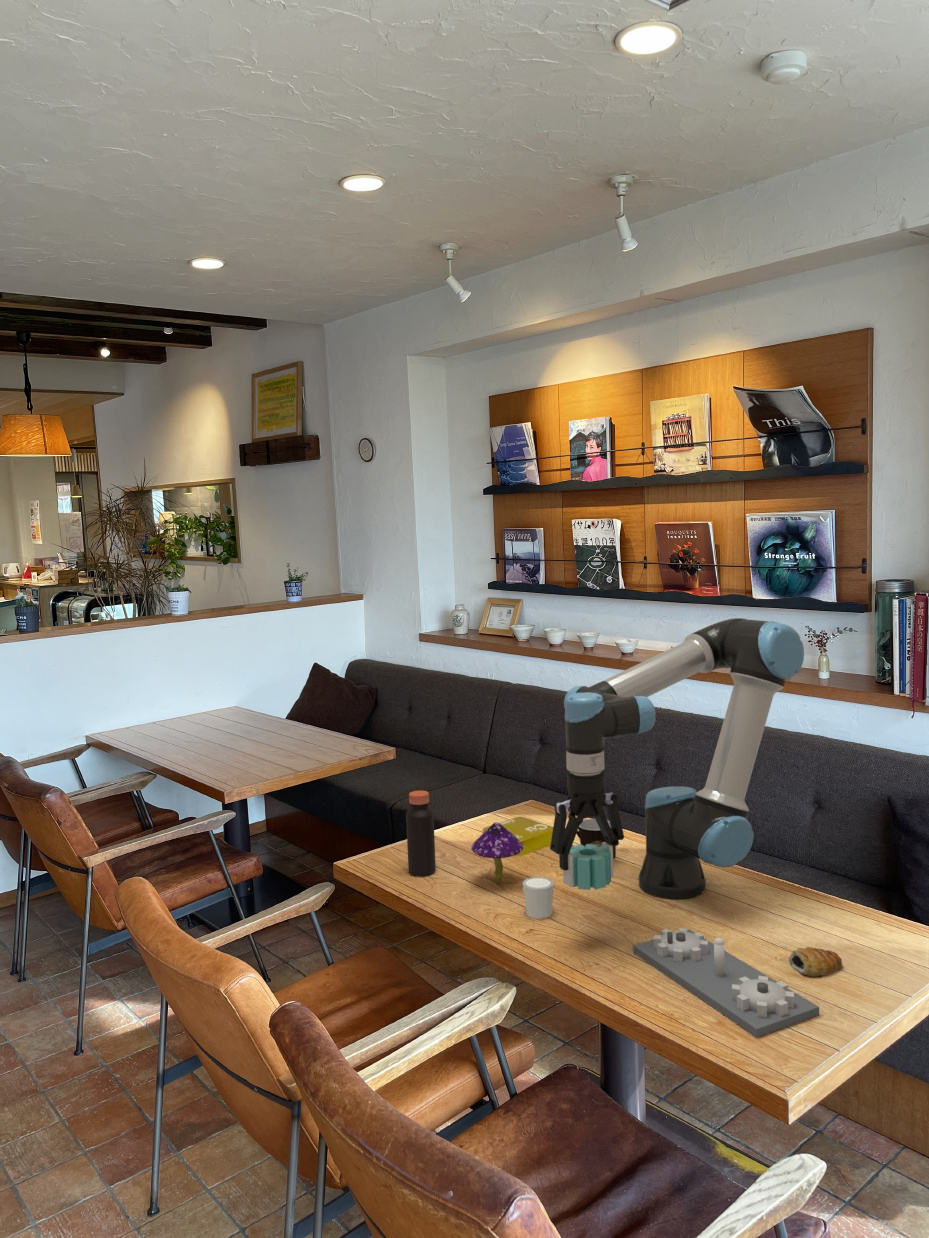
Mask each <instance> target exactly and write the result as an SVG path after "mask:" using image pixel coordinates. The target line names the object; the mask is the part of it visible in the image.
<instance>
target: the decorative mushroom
mask: <svg viewBox="0 0 929 1238" xmlns="http://www.w3.org/2000/svg"><path fill="white" fill-rule="evenodd" d="M489 826H490V827H489V828H488V829H487V830H486V831H485V832H484V833H483V832H482V834H481V835H480V836H479V837H478V838H477V839H476V840H474V842H473V843H472V845H471V848H470V849H471V850H472V852H473V854H475V855H476V856H479V857H482V858H487V859H492V860H493V862H494V867H495V869H494V882H495V884H502V883H503V871H504V866H503V861H502V859H504V858H510V857H514V856H515V855H517V854H519V853H520V852H521V851H522V850H523V848H524V845H523V844H522V843H521V842H520V841H519V840H518V839H517V837H516V836H515V835H513V834H512V833H511V832H510V831H509V830H507V829H506V828H505V827H503V826H502V825H501V824H500V822H497V821H496V822H493V824H490V825H489ZM515 857H516V856H515Z"/></svg>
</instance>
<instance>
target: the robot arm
mask: <svg viewBox="0 0 929 1238" xmlns="http://www.w3.org/2000/svg"><path fill="white" fill-rule="evenodd" d="M683 640H684V641H683V642H682V643H679V644H678V645H676V646H673V647H671V648H669V649H667V650H665V651H662V652H660V653H659V654H657V655H654V656H653V657H650V658H648V659H645V660H644V661H642V662H640V663H639V662H638V664H635V665H634V666H631V667H629V668H627V669H625V670H622V671H621V672H619V673H616V674H615V675H612V676H610V677H608V678H606V679H604V680H602V681H600V682H598V683H595V684H593V685H590V686H585V685H577V686H573V687H572V688H570V689H569V690H568V691H567V693H566V694H565V696H564V700H563V707H564V710H565V711H564V720H565V723H564V724H565V743H566V744H565V746H566V748H565V749H566V754H565V755H566V756H565V757H566V760H565V761H566V770H567V771H568V772H567V773H566V788H567V791H568V795H567V798H566V800H565V801H562V802H558V801H555V803H554V804H553V807H554V814H555V815H554V820H553V821H554V822H553V826H552V827H553V832H552V838H551V845H550V846H549V849H550V851H552V852H553V853H555V854H557V855H559V856H558V857H559V868H560V870H562V877H563V878H562V883H563V884H565V885H566V886H568V887H569V888H575V887H574V878H573V855H572V854H570V850H571V847H572V845H573V844H574V841H575V839H576V836H577V831H579V830H578V828H579V825H580V824H581V823H582V822H583V820H585V819H588V818H592V817H593V819H595V820H596V822H597V824H598V826H599V828H600V830H601V832H602V834H603V836H604V838H605V840H606V841H607V843H606V842H602V846H603V847H605V848H607V849H608V850H609V852H611V878H614V860H616V858H617V857H616V856H617V855H616V854H617V850H616V849H617V848H616V847H617V846H619V844H620V842H619V841H623V840H624V838H625V835H624V830H623V825H622V820H621V816H620V812H619V811H620V810H619V806H618V803H619V796H618V794H616V793H613V792H612V791H607V792H606V793H605V789H606V773H605V771H604V770H605V740H607V739H612V738H617V737H618V738H619V737H626V736H631V735H639V734H641V733H646V732H648V731H650V730H652V729H653V727H654V726H655V724H656V709H655V705H654V704H653V702H652V701H651V700H650V699H649V697H651V696H653V695H655V694H657V693H658V692H661V691H663V690H665V689H667V688H669V687H671V686H673V685H675V684H677V683H679V682H682V681H683V680H685V679H688V678H689V677H692V676H693V675H696V674H697V673H700V674H708V673H711V672H712V671H714V670H719V669H730V672H729V675H730V677H731V679H732V682H733V687H732V690H731V694H730V698H729V702H728V704H727V709H726V711H725V715H724V719H723V722H722V726H721V729H720V733H719V736H718V740H717V742H716V743H717V744H716V748H715V750H714V752H713V753H714V754H713V757H712V761H711V765H710V768H709V772H708V775H707V778H706V782H705V785H704V787H703V789H700V790H699V791H697V790H696V789H695V788H692V787H691V786H690V787H689V786H666V787H665V786H663V787H658V788H654V789H652V790H650V791H648V792H647V794H646V796H645V803H644V804H645V806H644V810H645V811H644V815H645V846H646V847H645V855H644V859H643V861H642V865H641V870H639V871H640V872H639V873H638V885H639V886H638V887H639V888H640V889H641V890H642V891H643V892H645V893H647V894H648V895H651V896H654V897H659V898H662V899H673V900H677V899H678V900H680V899H684V900H685V899H689V898H694V897H697V896H700V895H701V894H704V892H705V891H706V884H707V883H706V880H707V879H706V876H705V873H704V869H703V867H702V864H701V861H702V862H704V863H706V864H709V865H712V866H715V867H718V868H723V869H724V868H729V867H733V866H735V865H737V864H738V863H740V862H742V861H743V860H744V859H745V858H746V857H747V855H748V853H749V852H750V850H751V848H752V846H753V841H754V835H755V834H754V831H753V827H752V824H751V823H750V822H749V820H748V815H749V810H750V809H749V807H748V805H747V804H746V801H745V799H746V794H747V791H748V788H749V784H750V781H751V776H752V773H753V771H754V766H755V763H756V759H757V756H758V751H759V748H760V745H761V743H762V742H761V741H762V738H763V735H764V731H765V727H766V724H767V721H768V716H769V713H770V709H771V705H772V703H773V699H774V695H775V694H776V693H778V692H779V691H782V690H783V689H784V687H785V683H786V680H787V679H790V678H794V676H796V674H798V673H799V672H800V670H801V669H802V667H803V663H804V659H805V648H804V644H803V640H801V636H800V634H799V632H797V630H796V629H794V628H793V627H792V626H790V625H789V624H785V623H780V622H776V621H773V620H772V621H771V620H770V621H768V620H767V621H765V620H755V619H747V618H738V617H737V618H729V619H724V620H721V621H718V622H716V623H713V624H709V625H708V626H706V627H703V628H701V629H699V630H697V631H695V632H692V633H691V634H688V635H687V636H686V637H685V638H684V639H683ZM604 803H605V807H606V811H607V816H608V819H607V818H606V813H605V811H604V809H603V805H604ZM569 808H570V811H569ZM567 814H568V815H567ZM567 819H568V820H567ZM608 821H610V826H611V828H610V826H609V824H608ZM700 860H701V861H700Z"/></svg>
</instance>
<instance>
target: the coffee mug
mask: <svg viewBox="0 0 929 1238" xmlns="http://www.w3.org/2000/svg"><path fill="white" fill-rule="evenodd" d="M607 821H608V824H609V826H610V821H609V820H607ZM610 828H611V826H610ZM576 836H577V837H578V839H579V843H580V844H579V845H583V846H586V844H591V845H598V847H602V842H606V843H607V841H606V840H605V838H604V836H603V834H602V832H601V830H600V828H599V826H598V824H597V822H596V820H595V818H585V819H583V822H582V823H581V824H580V825H579V828H578V831H577V834H576ZM572 846H574V845H573V844H572Z"/></svg>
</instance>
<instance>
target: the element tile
mask: <svg viewBox="0 0 929 1238" xmlns="http://www.w3.org/2000/svg"><path fill="white" fill-rule="evenodd" d="M499 823H500V824H501V825H502V826H503V827H505V828H506V829H507V830H509V831H510V832H511V833H512V834H513V835H515V836H516V837H517V839H518V840H519V841H520V842H521V843H522V844H523V845H524V848H523V850H522V851H521V852H520V853H519V854H517V855H515V857H520V856H521V857H522V856H524V855H527V854H531V853H532V852H533V853H534V852H535V851H538V850H541V849H544V848H547V847H550V845H551V838H552V832H553V826H551V825H548V824H546V823H542V822H539V821H536V820H533V819H531V818H527V817H524V816H516V817H513V818H509V819H507V820H503V821H501V822H499ZM490 826H491V825H487V826H485V827H483V828H482V834H483V833H484V832H485V831H486V830H487V829H488V828H489V827H490Z"/></svg>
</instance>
